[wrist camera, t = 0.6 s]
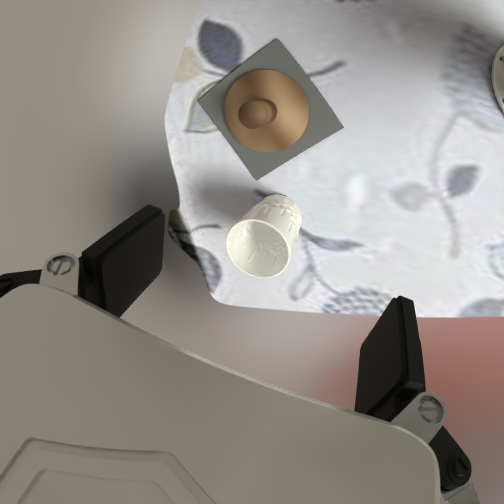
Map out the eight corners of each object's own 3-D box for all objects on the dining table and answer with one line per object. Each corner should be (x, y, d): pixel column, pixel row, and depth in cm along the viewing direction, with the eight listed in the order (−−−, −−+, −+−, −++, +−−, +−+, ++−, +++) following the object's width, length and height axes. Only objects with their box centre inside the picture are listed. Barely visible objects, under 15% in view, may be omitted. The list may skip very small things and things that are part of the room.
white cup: (243, 219, 46) (215, 253, 38) (269, 178, 41) (244, 205, 33) (287, 249, 46) (267, 289, 38) (317, 212, 42) (303, 247, 34)
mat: (278, 38, 31) (277, 38, 31) (343, 127, 34) (343, 127, 34) (199, 100, 39) (198, 101, 38) (257, 179, 42) (256, 180, 42)
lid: (275, 53, 32) (260, 48, 27) (326, 123, 35) (320, 129, 30) (211, 102, 38) (190, 106, 33) (258, 166, 41) (243, 178, 36)
